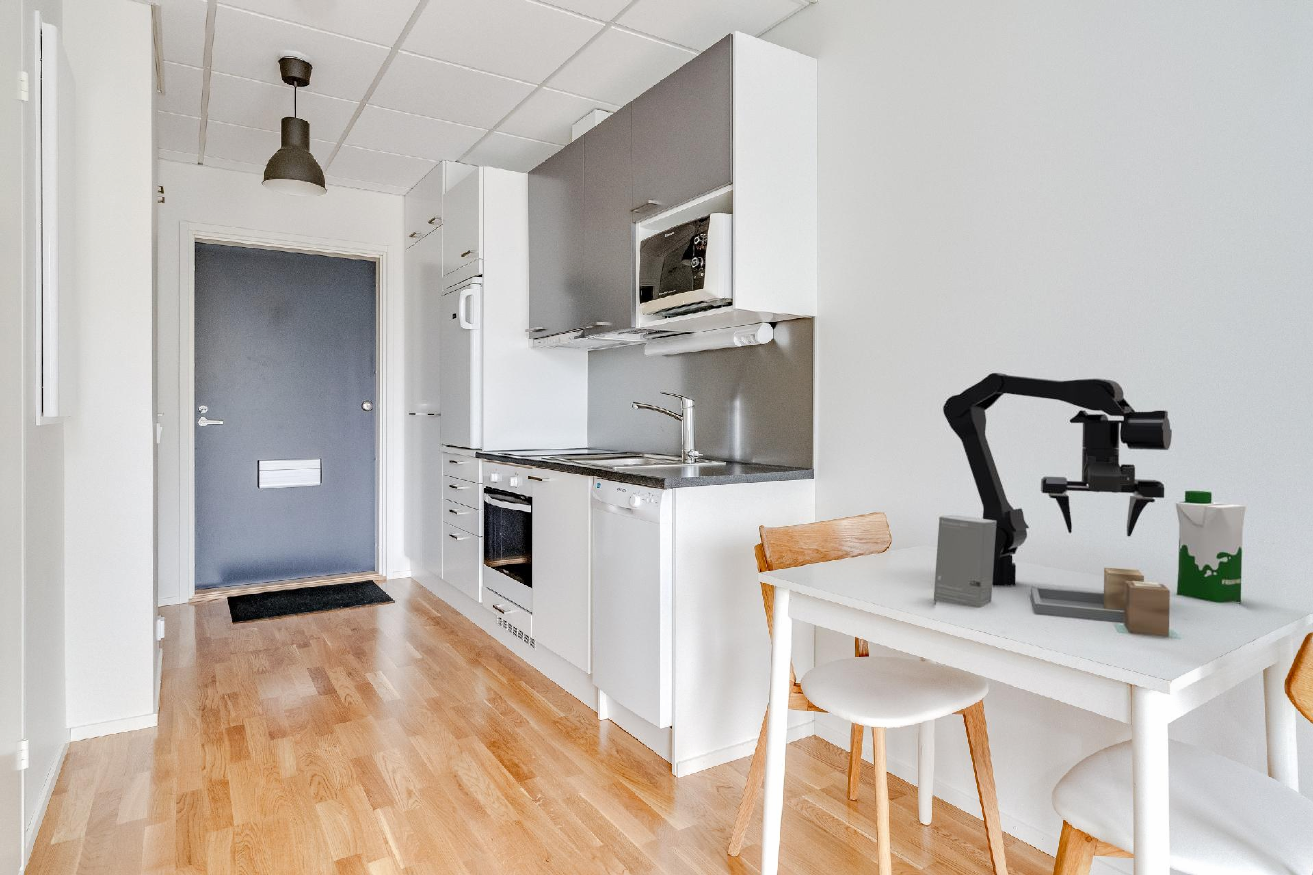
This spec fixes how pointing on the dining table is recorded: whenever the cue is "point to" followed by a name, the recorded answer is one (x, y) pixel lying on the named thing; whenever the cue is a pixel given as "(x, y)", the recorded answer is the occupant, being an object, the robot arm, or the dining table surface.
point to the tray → (1073, 604)
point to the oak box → (1118, 586)
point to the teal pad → (1123, 630)
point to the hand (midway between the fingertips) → (1098, 534)
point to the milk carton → (1209, 548)
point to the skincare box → (965, 560)
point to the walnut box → (1146, 608)
